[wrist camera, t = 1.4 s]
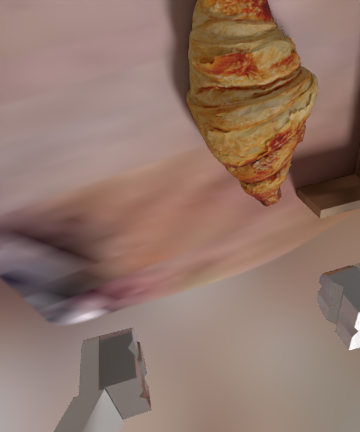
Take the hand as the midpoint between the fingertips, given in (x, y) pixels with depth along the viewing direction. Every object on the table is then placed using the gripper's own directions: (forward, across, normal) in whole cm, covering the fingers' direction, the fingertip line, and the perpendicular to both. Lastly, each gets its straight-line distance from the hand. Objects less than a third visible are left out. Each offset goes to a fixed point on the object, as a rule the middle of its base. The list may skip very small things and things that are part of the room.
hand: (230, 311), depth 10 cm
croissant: (+22, -9, 0) cm, 23 cm away
